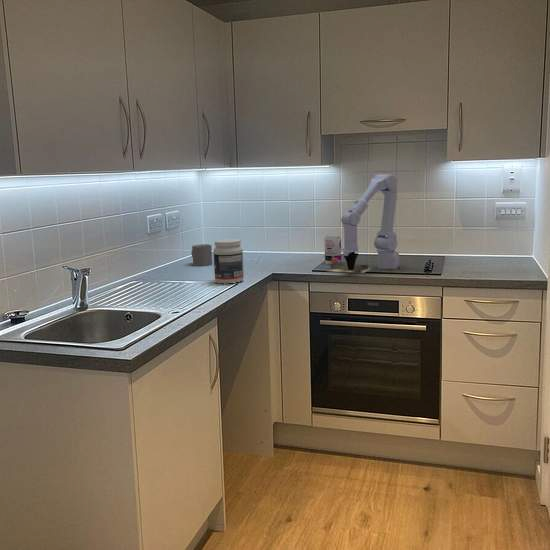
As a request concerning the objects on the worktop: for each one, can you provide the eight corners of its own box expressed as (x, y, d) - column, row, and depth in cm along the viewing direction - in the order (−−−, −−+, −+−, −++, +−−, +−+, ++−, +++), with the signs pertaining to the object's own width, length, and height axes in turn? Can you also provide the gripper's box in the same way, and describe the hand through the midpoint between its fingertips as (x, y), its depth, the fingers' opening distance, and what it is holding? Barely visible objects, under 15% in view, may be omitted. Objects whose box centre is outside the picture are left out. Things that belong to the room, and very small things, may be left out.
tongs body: (368, 269, 286) (368, 264, 286) (365, 270, 283) (365, 265, 283) (333, 267, 294) (333, 262, 294) (330, 268, 291) (330, 264, 290)
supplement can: (341, 264, 310) (341, 234, 307) (341, 267, 301) (341, 236, 299) (325, 264, 310) (324, 234, 308) (324, 267, 302) (324, 236, 300)
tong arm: (363, 270, 282) (363, 264, 281) (359, 271, 280) (359, 265, 279) (339, 267, 292) (339, 261, 291) (336, 268, 290) (336, 262, 290)
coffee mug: (215, 264, 321) (214, 245, 319) (198, 267, 316) (197, 247, 314) (204, 261, 332) (203, 243, 330) (187, 263, 327) (186, 245, 325)
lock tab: (338, 262, 292) (338, 258, 291) (336, 263, 290) (336, 259, 289) (333, 262, 293) (333, 258, 292) (331, 263, 291) (331, 258, 290)
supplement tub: (217, 279, 281) (215, 238, 278) (245, 278, 280) (243, 238, 277) (212, 285, 268) (210, 242, 265) (242, 284, 267) (240, 242, 264)
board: (371, 271, 288) (371, 268, 288) (363, 275, 277) (363, 272, 277) (335, 269, 296) (335, 266, 296) (325, 273, 285) (325, 271, 285)
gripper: (347, 237, 283) (348, 266, 286) (336, 241, 270) (336, 271, 273) (362, 237, 280) (362, 267, 282) (351, 241, 267) (352, 272, 270)
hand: (351, 269), depth 277 cm, fingers closed
